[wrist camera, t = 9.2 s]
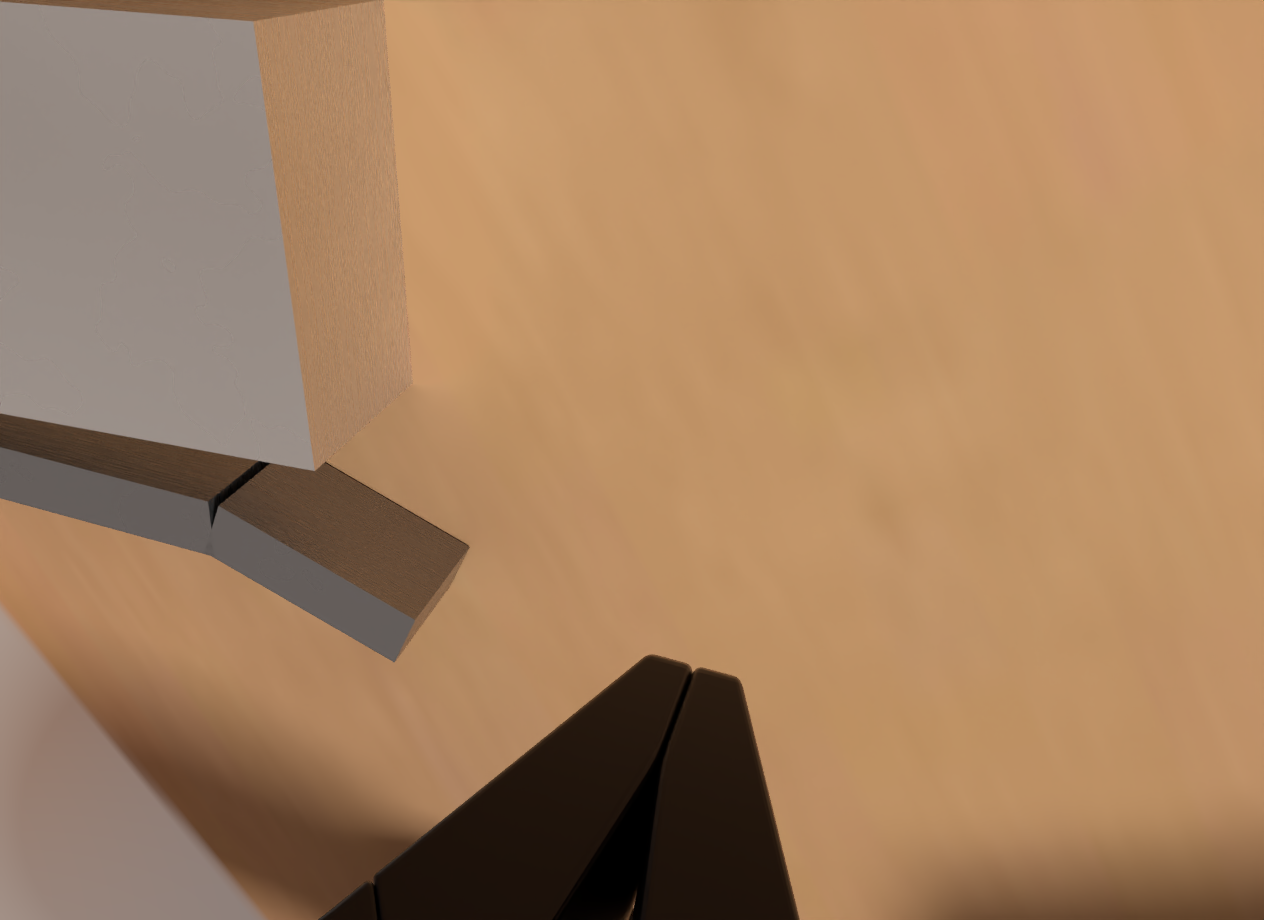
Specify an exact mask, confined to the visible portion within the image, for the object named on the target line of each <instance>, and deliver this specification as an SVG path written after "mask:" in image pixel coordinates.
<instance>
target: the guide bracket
mask: <svg viewBox="0 0 1264 920" xmlns="http://www.w3.org/2000/svg"><path fill="white" fill-rule="evenodd" d="M0 498H2V499H5V500H9V501H13V502H16V503H20V504H24V505H27V506H31V507H35V508H38V509H42V510H46V511H49V512H53V513H57V514H60V515H64V516H68V517H71V518H75V519H79V520H82V521H86V522H90V523H93V524H97V525H101V526H104V527H108V528H112V529H115V530H119V531H123V532H126V533H130V534H134V535H137V536H141V537H145V538H148V539H152V540H156V541H159V542H163V543H167V544H170V545H174V546H178V547H181V548H185V549H189V550H192V551H196V552H200V553H203V554H207V555H210V556H212V557H214V558H216V559H217V560H219V561H221V562H222V563H224V564H226V565H228V566H229V567H231V568H233V569H234V570H236V571H238V572H240V573H241V574H243V575H245V576H247V577H248V578H250V579H252V580H253V581H255V582H257V583H259V584H260V585H262V586H264V587H265V588H267V589H269V590H271V591H272V592H274V593H276V594H278V595H279V596H281V597H283V598H284V599H286V600H288V601H290V602H291V603H293V604H295V605H296V606H298V607H300V608H302V609H303V610H305V611H307V612H309V613H310V614H312V615H314V616H315V617H317V618H319V619H321V620H322V621H324V622H326V623H327V624H329V625H331V626H333V627H334V628H336V629H338V630H340V631H341V632H343V633H345V634H346V635H348V636H350V637H352V638H353V639H355V640H357V641H358V642H360V643H362V644H364V645H365V646H367V647H369V648H371V649H372V650H374V651H376V652H377V653H379V654H381V655H383V656H384V657H386V658H388V659H389V660H391V661H393V662H395V661H396V660H397V658H398V657H399V656H400V654H401V653H402V651H403V650H404V649H405V647H406V646H407V645H408V643H409V642H410V640H411V639H412V638H413V636H414V635H415V634H416V632H417V631H418V629H419V628H420V627H421V625H422V624H423V623H424V621H425V620H426V619H427V617H428V616H429V614H430V613H431V612H432V610H433V609H434V608H435V606H436V605H437V603H438V602H439V601H440V599H441V598H442V597H443V595H444V594H445V592H446V591H447V590H448V588H449V587H450V585H451V583H452V581H453V579H454V577H455V575H456V573H457V571H458V569H459V567H460V565H461V563H462V561H463V559H464V557H465V555H466V553H467V551H468V549H469V546H467V545H465V544H464V543H462V542H460V541H459V540H457V539H455V538H453V537H452V536H450V535H448V534H446V533H445V532H443V531H441V530H440V529H438V528H436V527H434V526H433V525H431V524H429V523H428V522H426V521H424V520H422V519H421V518H419V517H417V516H416V515H414V514H412V513H410V512H409V511H407V510H405V509H404V508H402V507H400V506H398V505H397V504H395V503H393V502H392V501H390V500H388V499H386V498H385V497H383V496H381V495H380V494H378V493H376V492H374V491H373V490H371V489H369V488H367V487H366V486H364V485H362V484H361V483H359V482H357V481H355V480H354V479H352V478H350V477H349V476H347V475H345V474H343V473H342V472H340V471H338V470H337V469H335V468H333V467H331V466H330V465H328V464H326V463H325V462H324V463H323V464H322V465H321V466H320V467H319V468H318V469H317V470H315V471H312V470H306V469H301V468H295V467H290V466H284V465H279V464H273V463H268V462H262V461H257V460H252V459H246V458H241V457H235V456H230V455H224V454H219V453H213V452H208V451H203V450H197V449H192V448H186V447H181V446H175V445H170V444H164V443H159V442H153V441H148V440H143V439H137V438H132V437H126V436H121V435H115V434H110V433H104V432H99V431H94V430H88V429H83V428H77V427H72V426H66V425H61V424H55V423H50V422H45V421H39V420H34V419H28V418H23V417H17V416H12V415H6V414H1V413H0Z"/></svg>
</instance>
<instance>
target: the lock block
mask: <svg viewBox="0 0 1264 920" xmlns="http://www.w3.org/2000/svg"><path fill="white" fill-rule="evenodd" d="M412 384H413V380H412V366H411V353H410V340H409V327H408V314H407V301H406V288H405V275H404V262H403V249H402V236H401V223H400V210H399V197H398V184H397V171H396V158H395V144H394V131H393V118H392V105H391V92H390V79H389V66H388V53H387V40H386V27H385V14H384V1H383V0H0V413H1V414H6V415H12V416H17V417H23V418H28V419H34V420H39V421H45V422H50V423H55V424H61V425H66V426H72V427H77V428H83V429H88V430H94V431H99V432H104V433H110V434H115V435H121V436H126V437H132V438H137V439H143V440H148V441H153V442H159V443H164V444H170V445H175V446H181V447H186V448H192V449H197V450H203V451H208V452H213V453H219V454H224V455H230V456H235V457H241V458H246V459H252V460H257V461H262V462H268V463H273V464H279V465H284V466H290V467H295V468H301V469H306V470H312V471H315V470H317V469H318V468H319V467H320V466H321V465H322V464H323V463H324V462H325V461H327V460H328V459H329V458H330V457H331V456H332V455H333V454H334V453H336V452H337V451H338V450H339V449H340V448H341V447H342V446H343V445H345V444H346V443H347V442H348V441H349V440H350V439H351V438H352V437H353V436H355V435H356V434H357V433H358V432H359V431H360V430H361V429H362V428H364V427H365V426H366V425H367V424H368V423H369V422H370V421H371V420H372V419H374V418H375V417H376V416H377V415H378V414H379V413H380V412H381V411H383V410H384V409H385V408H386V407H387V406H388V405H389V404H390V403H391V402H393V401H394V400H395V399H396V398H397V397H398V396H399V395H400V394H402V393H403V392H404V391H405V390H406V389H407V388H408V387H409V386H410V385H412Z"/></svg>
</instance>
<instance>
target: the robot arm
mask: <svg viewBox="0 0 1264 920" xmlns="http://www.w3.org/2000/svg"><path fill="white" fill-rule="evenodd" d="M634 902H635V905H634ZM633 905H634V911H633V916H630V915H631V912H632V909H633ZM318 920H800V919H799V915H798V911H797V907H796V903H795V899H794V894H793V890H792V886H791V882H790V878H789V874H788V870H787V866H786V862H785V858H784V854H783V850H782V845H781V841H780V837H779V833H778V829H777V825H776V821H775V817H774V813H773V809H772V805H771V800H770V796H769V792H768V788H767V784H766V780H765V776H764V772H763V768H762V764H761V760H760V756H759V751H758V747H757V743H756V739H755V735H754V731H753V727H752V723H751V719H750V715H749V711H748V706H747V702H746V698H745V694H744V690H743V686H742V684H741V682H740V680H739V679H738V678H737V677H735V676H732V675H728V674H724V673H721V672H717V671H713V670H710V669H706V668H697V669H696V670H695V671H694V672H693V673H692V669H691V667H690V666H689V664H687V663H684V662H680V661H676V660H673V659H669V658H665V657H661V656H658V655H648V656H645V657H644V658H643V659H641V660H640V661H639V662H638V663H636V664H635V665H634V666H633V667H631V668H630V669H629V670H628V671H626V672H625V673H624V674H623V675H622V676H620V677H619V678H618V679H617V680H615V681H614V682H613V683H612V684H610V685H609V686H608V687H607V688H605V689H604V690H603V691H602V692H600V693H599V694H598V695H597V696H596V697H594V698H593V699H592V700H591V701H589V702H588V703H587V704H586V705H584V706H583V707H582V708H581V709H579V710H578V711H577V712H576V713H574V714H573V715H572V716H571V717H570V718H568V719H567V720H566V721H565V722H563V723H562V724H561V725H560V726H558V727H557V728H556V729H555V730H553V731H552V732H551V733H550V734H548V735H547V736H546V737H545V738H544V739H542V740H541V741H540V742H539V743H537V744H536V745H535V746H534V747H532V748H531V749H530V750H529V751H527V752H526V753H525V754H524V755H522V756H521V757H520V758H519V759H517V760H516V761H515V762H514V763H513V764H511V765H510V766H509V767H508V768H506V769H505V770H504V771H503V772H501V773H500V774H499V775H498V776H496V777H495V778H494V779H493V780H491V781H490V782H489V783H488V784H487V785H485V786H484V787H483V788H482V789H480V790H479V791H478V792H477V793H475V794H474V795H473V796H472V797H470V798H469V799H468V800H467V801H465V802H464V803H463V804H462V805H461V806H459V807H458V808H457V809H456V810H454V811H453V812H452V813H451V814H449V815H448V816H447V817H446V818H444V819H443V820H442V821H441V822H439V823H438V824H437V825H436V826H435V827H433V828H432V829H431V830H430V831H428V832H427V833H426V834H425V835H423V836H422V837H421V838H420V839H418V840H417V841H416V842H415V843H413V844H412V845H411V846H410V847H409V848H407V849H406V850H405V851H404V852H402V853H401V854H400V855H399V856H397V857H396V858H395V859H394V860H392V861H391V862H390V863H389V864H387V865H386V866H385V867H384V868H383V869H381V870H380V871H379V872H378V873H376V874H375V876H374V878H373V883H372V882H370V881H367V882H364V883H363V884H362V885H361V886H359V887H358V888H357V889H356V890H355V891H353V892H352V893H351V894H350V895H348V896H347V897H346V898H345V899H343V900H342V901H341V902H340V903H339V904H337V905H336V906H335V907H334V908H332V909H331V910H330V911H329V912H328V913H326V914H325V915H324V916H322V917H321V918H320V919H318Z"/></svg>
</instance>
